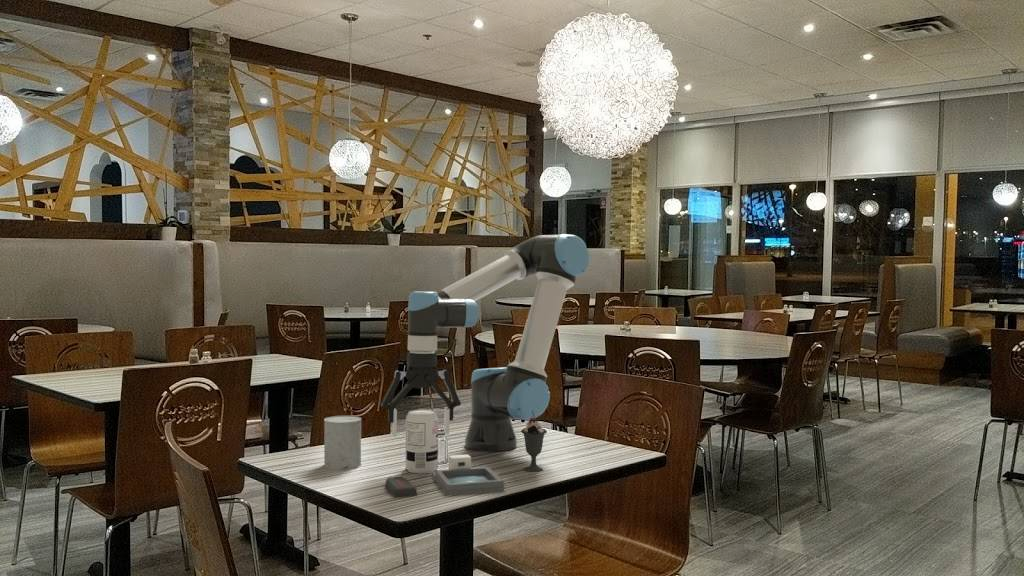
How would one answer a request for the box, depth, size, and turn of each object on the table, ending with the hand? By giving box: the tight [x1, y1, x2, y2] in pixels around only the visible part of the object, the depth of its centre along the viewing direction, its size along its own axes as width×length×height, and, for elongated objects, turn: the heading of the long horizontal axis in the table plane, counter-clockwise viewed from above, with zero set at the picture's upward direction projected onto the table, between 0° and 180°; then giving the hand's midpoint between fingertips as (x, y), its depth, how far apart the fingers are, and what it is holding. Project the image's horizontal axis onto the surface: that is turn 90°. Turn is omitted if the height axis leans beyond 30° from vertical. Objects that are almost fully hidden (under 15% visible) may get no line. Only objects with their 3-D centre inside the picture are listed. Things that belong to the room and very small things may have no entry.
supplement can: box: [405, 409, 439, 474], centre depth 209 cm, size 8×8×15 cm
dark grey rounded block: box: [384, 475, 418, 499], centre depth 190 cm, size 5×12×3 cm, turn 23°
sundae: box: [520, 411, 548, 473], centre depth 211 cm, size 7×7×15 cm
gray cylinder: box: [323, 415, 362, 471], centre depth 213 cm, size 10×10×12 cm
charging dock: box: [430, 454, 505, 496], centre depth 197 cm, size 14×18×5 cm
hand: (420, 434), depth 209 cm, fingers open, 13 cm apart
